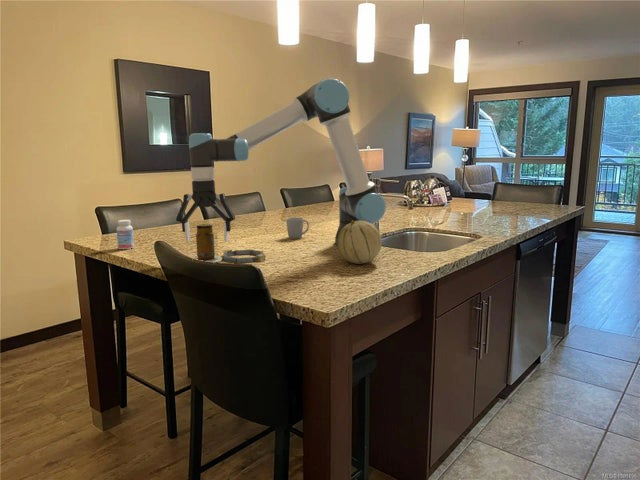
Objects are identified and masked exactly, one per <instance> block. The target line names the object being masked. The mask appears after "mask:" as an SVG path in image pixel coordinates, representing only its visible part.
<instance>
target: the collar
mask: <svg viewBox="0 0 640 480" xmlns="http://www.w3.org/2000/svg"><path fill="white" fill-rule="evenodd" d="M237 255H239V256H240V255H241V256H242V255H253V256H252V257H251V256H249V257H234V256H237ZM223 261H224V262H228V263H235V264H241V263H244V264H245V263H254V262H258V263H259V262H260V263H261V262H264V261H266V254H265V253H264V251H262V250H256V249H238V250H232V249H230V248H229V249H228V248H227V249H224V250H223Z"/></svg>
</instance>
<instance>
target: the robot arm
mask: <svg viewBox="0 0 640 480" xmlns="http://www.w3.org/2000/svg"><path fill="white" fill-rule="evenodd" d="M349 101H350V92H349V89H348V87H347V86H346V85H345V83H344V82H343V81H341V80H339V79H336V78H326V79H323V80H320V81H319V82H317V83H315V84H313V85H312V86H311V87H309V88H308V89H306V90H305V91H304V92H303V93H301V94H300V95H298V96H297V97H294V98H293V101H292V102H291V103H289V104H287V105H285V106H283V107H282V108H280V109H278V110H276V111H274V112H272V113H271V114H269V115H267V116H266V117H263V118H261V119H260V120H258V121H256V122H255V123H252V124H251V125H249V126H247V127H244V128H243V129H242V130H240V131H238V132H236V133H235V134H233V135H230V136H228V137H227V138H219V139H217V138H213V136H212V134H211V133H203V132H201V133H190V135H189V137H188V143H189V144H188V148H189V149H188V150H189V161H190V173H191V175H190V176H191V179H192V182H191V187H192V188H191V189H192V194H189V193H186V194H185V193H184V195H183V199H182V200H183V201H182V203H181V205H180V209H179V211H178V213H177V216H176V217H175V220H176V222H179V223H181V229H182V232H183V233H184V234H185V235H184V237H185V242H186V243H188V242H190V241H192V240H191V229H190V222H189V221H188V220H189V219H190V218H191V216H192V215H193V214H194V212H195V211H196V210H197V209H198V208H210V207H211V208H212V209H213V210H214V211H215V212H216V213H217V214H218V215H219V216H220V217H221V219H223V221H224V222H223V240H224V243H225V242H229V233H230V232H231V230H232V229H231V222H232V221H235V220H236V216H235V214H234V212H233V210H232V209H231V207H230V204H229V203H228V201H227V200H226V195H225V192H224V193H220V194H217V193H216V187H215V186H216V184H215V180H214V179H215V169H214V162H216V163H217V162H218V163H219V162H243V161H244V162H245V161H247V160H248V159H249V151H250V150H252V149H253V148H256V147H257V146H259V145H261V144H263V143H265V142H267V141H269V140H270V139H272V138H274V137H276V136H277V135H279V134H281V133H283V132H285V131H287V130H289V129H290V128H292V127H293V126H296V125H297V124H300V123H301V122H306V123H307V122H308V121H310V120H312V119H315V118H318V120H319V121H318V122H319V124H320V125H322V126H324V127H325V128H326V131H327V133H328V137H329V140H330V143H331V146H332V148H333V151H334V154H335V157H336V160H337V162H338V165H339V168H340V171H341V173H342V174H341V175H342V177H343V180H344V182H345V185H346V187H341V188H340V189H339V194H338V202H339V203H338V205H339V208H338V209H339V211H338V212H339V213H338V215H339V217H338V219H339V224H338V226H337V227H338V228H337V230H336V231H337V232H336V234H335V237H334V243H335V244H336V245H338V236H339V233H340V231H341V230H342V229H343V228H344V227H345V226H346V225H347V224H349V223H351V221H367V222H369V223H371V224H372V225H373V224H375V223H378V222H379V221H380V220H381V219H383V217H384V215H385V213H386V210H387V207H386V206H387V205H386V200H385V199H384V197H382V195H380V194H379V193H378V189H377V186H376V184H375V182H373V181H371V180H370V179H369V175H368V172H367V169H366V167H365V164H364V161H363V157H362V155H361V151H360V148H359V147H358V143H357V140H356V136H355V134H354V131H353V129H352V125H351V121H350V120H349V117H350V115H351V113H352V112H351V108H350V106H349ZM217 199H218V201H220V203H221V205H222V207H223V209H224V210H225V211H223V209H222V207H220V206H219V204H218V203H217V201H216V200H217ZM191 200H192V201H193V204H192V205H191V207H190V209H189V210H188V211H187V212H186V210H187V207H188V205H189V203H190V201H191ZM185 212H186V213H185ZM184 214H185V215H184Z"/></svg>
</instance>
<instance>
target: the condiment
mask: <svg viewBox="0 0 640 480" xmlns="http://www.w3.org/2000/svg"><path fill="white" fill-rule="evenodd" d="M195 240H196V242H195V243H196V244H195V245H196V254H197V256H196V257H194V259H198V260H203V261H214V260H218V259H222V260H223V259H224V256H218V257H215V256H216V254H215V252H216V251H215V236H214V232H213V225H212V224H210V223H208V224H207V223H206V224H205V223H202V224H198V225H197V226H196V233H195Z"/></svg>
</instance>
